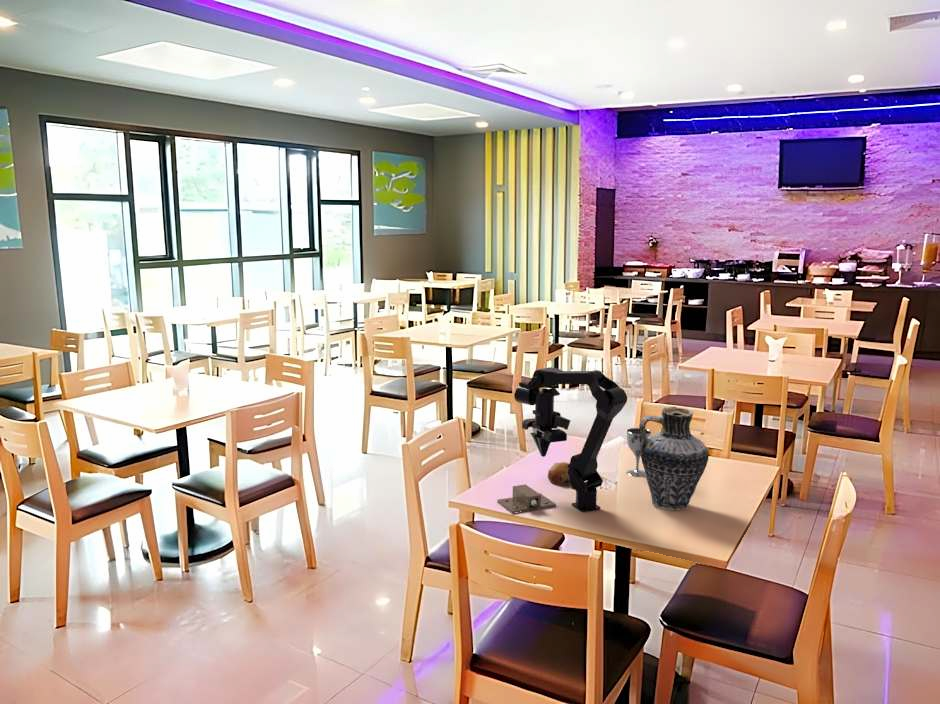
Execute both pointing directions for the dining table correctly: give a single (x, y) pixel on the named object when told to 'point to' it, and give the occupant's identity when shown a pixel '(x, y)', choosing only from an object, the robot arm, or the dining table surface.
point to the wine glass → (636, 448)
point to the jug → (672, 459)
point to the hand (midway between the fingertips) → (543, 456)
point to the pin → (533, 502)
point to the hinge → (525, 500)
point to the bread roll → (559, 474)
